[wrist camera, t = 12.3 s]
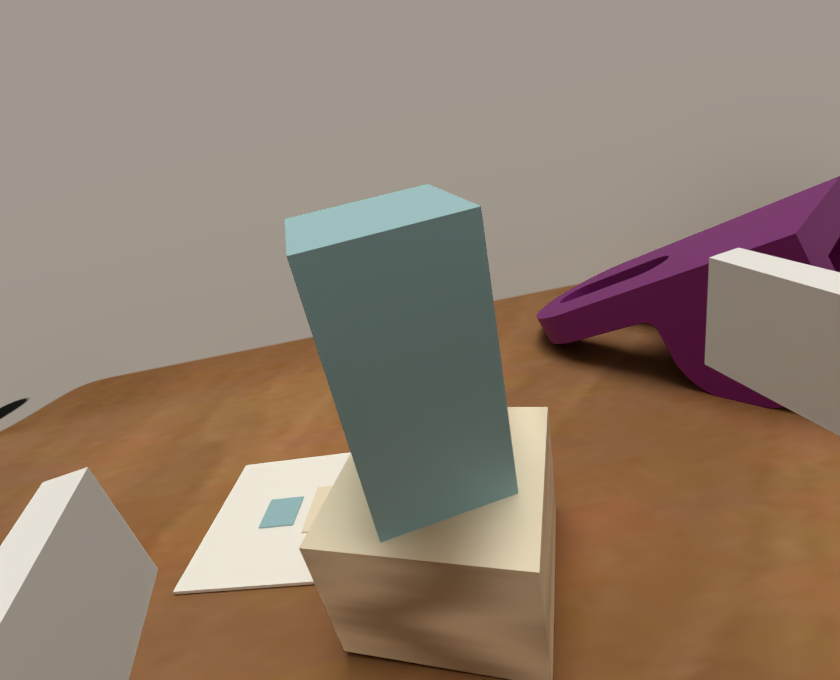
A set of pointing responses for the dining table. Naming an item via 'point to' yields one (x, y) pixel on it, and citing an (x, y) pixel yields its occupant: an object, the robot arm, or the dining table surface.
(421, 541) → the birch base brick
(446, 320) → the teal brick
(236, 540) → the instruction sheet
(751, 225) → the mounting bracket
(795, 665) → the dining table surface
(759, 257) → the robot arm
